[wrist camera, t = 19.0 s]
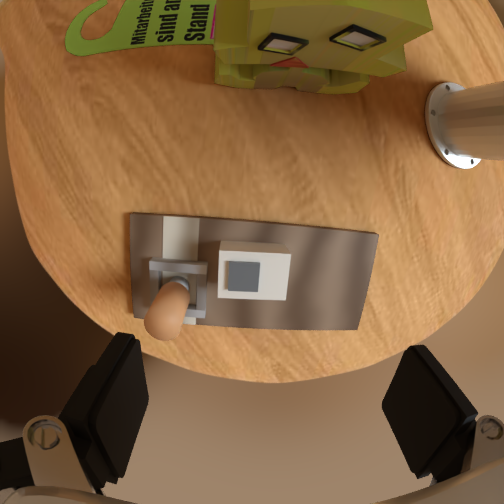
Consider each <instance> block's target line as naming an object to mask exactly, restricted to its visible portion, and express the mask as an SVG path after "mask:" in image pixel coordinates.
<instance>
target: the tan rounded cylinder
mask: <svg viewBox="0 0 504 504" xmlns="http://www.w3.org/2000/svg"><path fill="white" fill-rule="evenodd" d="M188 290H189V282H188V281H187V279H185V278H184V277H182V276H175V277H173V278H172V279H171V280H170V282H168V283H166V284H164V285H163V286H162V287H161V289H160V290H159V292H158V294H157V296H156V297H155V299H154V301H153V303H152V304H151V306H150V308H149V310H148V311H147V313H146V315H145V317H144V326H145V328H146V330H147V332H148V333H149V334H150V335H151V336H152V337H154V338H156V339H158V340H162V341H169V340H172V339H174V338H176V337H177V336H178V335H179V333H180V330H181V327H182V324H183V320H184V317H185V314H186V311H187V308H188V305H189V301H190V294H189V292H188Z"/></svg>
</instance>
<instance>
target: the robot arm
mask: <svg viewBox="0 0 504 504" xmlns="http://www.w3.org/2000/svg"><path fill="white" fill-rule="evenodd" d="M425 120H426V126H427V131H428V134H429V137H430V140H431V142H432V144H433V146H434V148H435V149H436V151H437V153H438V154H439V155H440V156H441V158H442V159H443V160H444V161H445V162H447V163H448V164H449V165H451V166H453V167H455V168H460V169H469V168H472V167H474V166H476V165H477V164H478V163H479V162H480V160H481V159H488V160H500V161H504V81H501V82H496V83H491V84H486V85H481V86H476V87H472V88H467V89H465V88H464V87H462V86H461V85H459V84H456V83H452V82H446V83H442V84H439V85H437V86H435V87H434V88H433V89H432V90H431V92H430V93H429V95H428V98H427V101H426V106H425ZM148 400H149V395H148V390H147V384H146V378H145V373H144V366H143V360H142V353H141V345H140V341H139V340H138V339H135V336H134V335H133V334H128V333H121V332H117V333H116V334H115V336H114V337H113V339H112V340H111V342H110V343H109V345H108V346H107V348H106V349H105V351H104V352H103V354H102V355H101V357H100V358H99V360H98V361H97V363H96V365H92V366H91V367H90V368H89V369H88V370H87V372H86V374H85V375H84V377H83V378H82V380H81V381H80V383H79V385H78V386H77V388H76V389H75V391H74V392H73V394H72V396H71V397H70V399H69V401H68V402H67V404H66V405H65V407H64V409H63V410H62V412H61V414H60V415H59V417H58V419H57V418H55V417H52V416H38V417H36V418H33V419H32V420H30V421H29V422H28V423H27V424H26V426H25V428H24V430H23V437H21V438H17V439H13V440H9V441H4V442H0V504H135V503H132V502H127V501H123V500H119V499H115V498H111V497H106V495H105V493H104V491H103V489H102V488H103V487H104V486H105V483H106V481H107V482H111V483H114V484H117V481H118V478H119V477H120V478H123V477H124V475H125V472H126V469H127V465H128V462H129V459H130V456H131V453H132V450H133V447H134V443H135V441H136V438H137V435H138V432H139V429H140V426H141V423H142V420H143V417H144V414H145V411H146V408H147V405H148ZM382 409H383V412H384V414H385V416H386V418H387V420H388V422H389V424H390V426H391V429H392V431H393V433H394V435H395V437H396V439H397V441H398V444H399V446H400V448H401V450H402V452H403V455H404V457H405V459H406V461H407V464H408V466H409V468H410V470H411V472H412V473H415V475H416V477H417V479H419V478H422V477H425V476H428V475H429V474H430V473H432V475H433V478H432V481H431V484H430V486H429V487H427V488H424V489H421V490H418V491H415V492H412V493H409V494H406V495H403V496H399V497H396V498H392V499H389V500H385V501H381V502H377V503H372V504H504V424H503V423H502V421H501V420H499V419H498V418H496V417H494V416H490V415H486V416H482V417H480V418H479V419H478V421H477V422H476V421H475V417H476V416H477V415H478V412H477V410H476V409H475V408H474V406H473V405H472V404H471V402H470V401H469V400H468V398H467V397H466V396H465V394H464V393H463V392H462V391H461V389H459V387H458V385H457V384H456V383H455V382H454V380H453V379H452V378H451V377H450V375H449V374H448V373H447V372H446V371H445V369H444V368H443V367H442V365H441V364H440V363H439V362H438V361H437V360H436V358H435V357H434V356H433V354H432V353H431V352H430V351H429V350H428V348H427V347H426V346H424V345H413V346H409V347H408V349H407V350H405V351H404V353H403V356H402V358H401V361H400V363H399V366H398V368H397V370H396V373H395V375H394V377H393V379H392V382H391V384H390V386H389V388H388V390H387V392H386V395H385V397H384V399H383V401H382Z"/></svg>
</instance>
